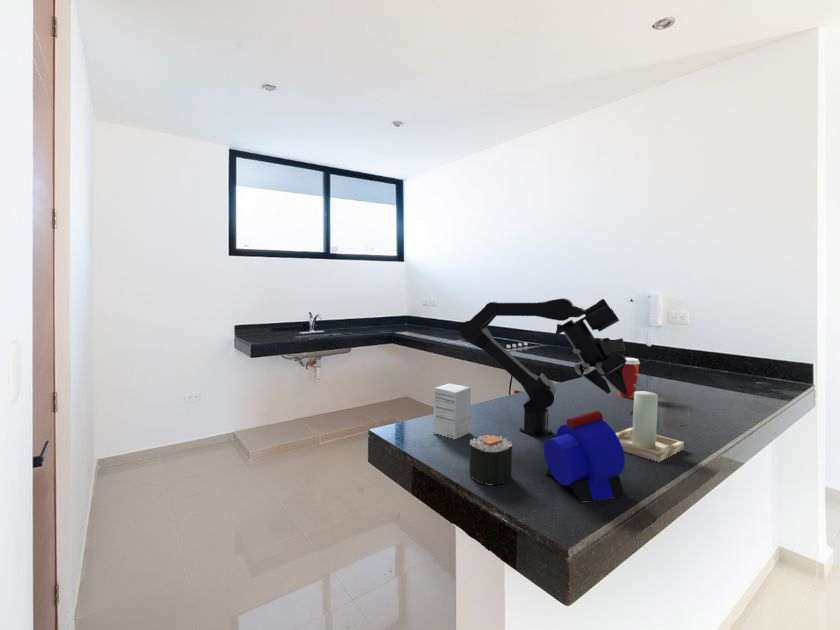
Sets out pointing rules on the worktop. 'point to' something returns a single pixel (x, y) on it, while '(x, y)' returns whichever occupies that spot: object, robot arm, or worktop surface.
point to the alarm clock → (586, 457)
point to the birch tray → (660, 452)
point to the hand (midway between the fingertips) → (617, 393)
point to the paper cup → (630, 377)
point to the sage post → (644, 419)
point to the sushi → (490, 459)
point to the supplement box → (452, 410)
